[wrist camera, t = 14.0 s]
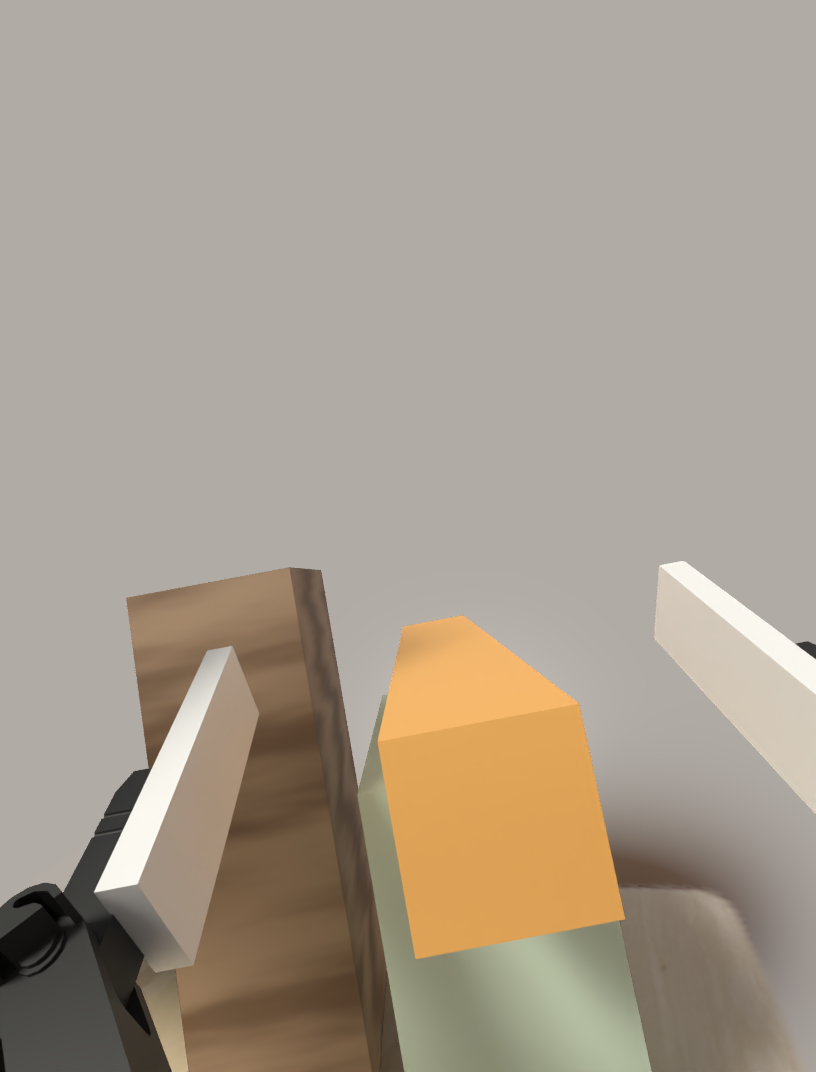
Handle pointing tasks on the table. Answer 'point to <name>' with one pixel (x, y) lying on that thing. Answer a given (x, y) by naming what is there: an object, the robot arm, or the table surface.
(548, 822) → the bar
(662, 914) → the table surface
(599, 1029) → the pale green rectangular block
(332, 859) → the post
